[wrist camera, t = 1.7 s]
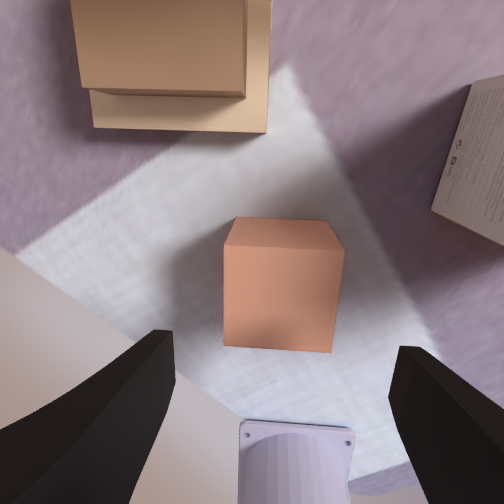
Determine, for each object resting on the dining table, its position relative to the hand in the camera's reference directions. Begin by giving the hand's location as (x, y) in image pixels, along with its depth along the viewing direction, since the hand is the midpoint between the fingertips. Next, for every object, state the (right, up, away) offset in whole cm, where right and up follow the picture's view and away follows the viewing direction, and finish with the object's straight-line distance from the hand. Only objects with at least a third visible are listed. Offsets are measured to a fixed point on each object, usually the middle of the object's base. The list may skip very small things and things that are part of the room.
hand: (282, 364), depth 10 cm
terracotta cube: (+1, +3, +9) cm, 9 cm away
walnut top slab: (-4, +13, +3) cm, 14 cm away
